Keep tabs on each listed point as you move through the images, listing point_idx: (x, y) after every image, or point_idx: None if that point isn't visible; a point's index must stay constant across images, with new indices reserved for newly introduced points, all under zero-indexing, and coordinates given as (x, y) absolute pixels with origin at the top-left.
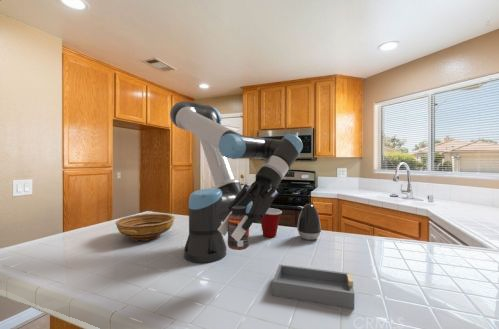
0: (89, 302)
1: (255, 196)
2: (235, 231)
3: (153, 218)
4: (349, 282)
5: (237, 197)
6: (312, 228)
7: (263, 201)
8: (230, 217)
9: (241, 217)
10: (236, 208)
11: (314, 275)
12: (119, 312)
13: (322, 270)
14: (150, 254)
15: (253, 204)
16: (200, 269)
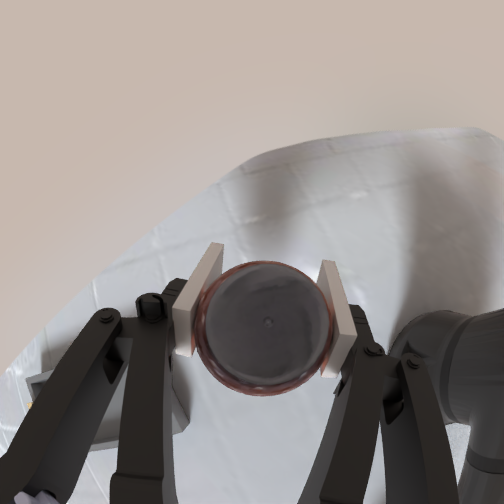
0: (372, 132)
1: (159, 476)
2: (208, 253)
3: None
4: (31, 402)
5: (428, 442)
6: None
7: (51, 396)
8: (275, 262)
9: (207, 293)
10: (243, 269)
11: (108, 439)
12: (321, 140)
13: (91, 448)
14: (486, 268)
15: (149, 391)
16: (374, 310)
